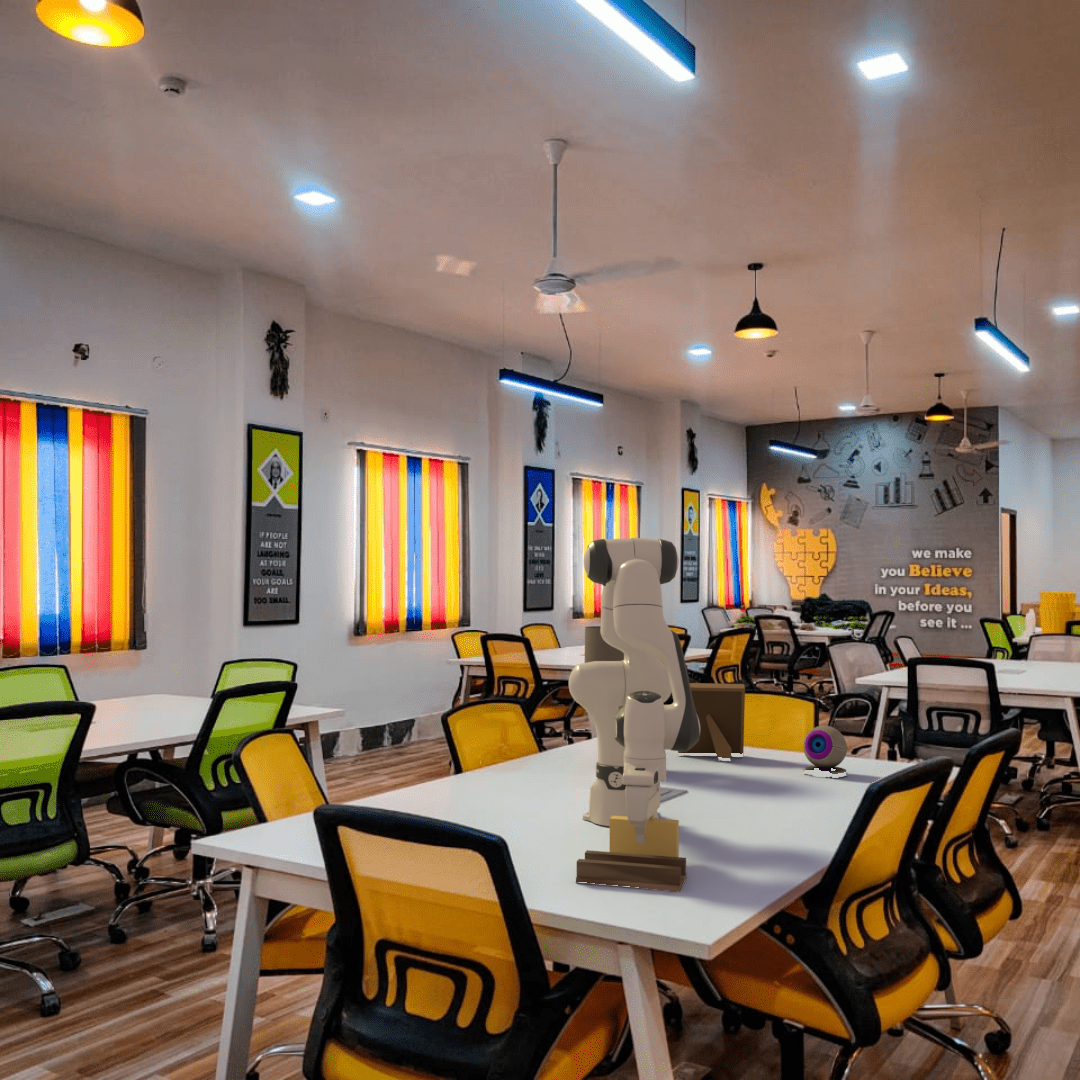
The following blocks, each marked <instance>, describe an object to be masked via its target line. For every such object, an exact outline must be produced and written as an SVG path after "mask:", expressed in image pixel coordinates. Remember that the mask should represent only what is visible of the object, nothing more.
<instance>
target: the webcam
mask: <svg viewBox="0 0 1080 1080" xmlns="http://www.w3.org/2000/svg"><path fill="white" fill-rule="evenodd" d="M803 739H804V740H803V753H804V756H805V757H806V759H807V760H808V762H810V763H811V764H812V765H809V766H808V765H807V766H805V767H803V770H814V768H819V770H821V771H829V772H830V773H832V774H838V773H844V772H846V771H847V769H845V768H843V767H839V766H838V765H840V764H841V763H842V762H843V761H844V760H845V757H846V755H847V753H848V744H847V740H846V738H845V736H844V735H843V734H842V733H841V731H840V730H839V729H836V728H835V727H833V726H830V725H818V726H816V727H813V728H812V729H811V730H810V731H808V733H807V734H806V735H805V737H804V738H803ZM831 768H833V769H836V770H835V771H831Z"/></svg>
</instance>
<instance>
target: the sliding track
mask: <svg viewBox="0 0 1080 1080" xmlns="http://www.w3.org/2000/svg"><path fill="white" fill-rule="evenodd" d="M685 879H687V857H683V856H681V857H669V856H656V855H643V854H629V853H616V852H610V851H599V850H588V849H587V850H586V851H585V852H584V859H583V858H578V859H577V860H576V876H575V883H576V882H587V883H595V884H606V885H618V886H630V887H639V888H638V889H640V888H648V889H647V890H652V889H657V890H656V891H664V890H669V891H668V892H676V891H680V892H681V890H682V888H683V886H684V884H685V882H686V880H685ZM684 881H685V882H684ZM683 883H684V884H683ZM682 885H683V886H682ZM681 887H682V888H681ZM680 889H681V890H680Z"/></svg>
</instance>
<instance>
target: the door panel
mask: <svg viewBox="0 0 1080 1080" xmlns="http://www.w3.org/2000/svg"><path fill="white" fill-rule="evenodd" d="M679 823H680V820H679V819H671V818H670V819H669V818H659V819H657V818H650V819H649V820H648V821H647V823H646V826H645V834H646V841H645V843H644V844H638V843H637V842H636V833H635V828H634V824H630V823H629V821H628V818H627V816H612V817H611V818H610V826H609V852H616V853H629V854H643V855H656V856H669V857H679V855H680V854H679V852H680V851H679V849H680V848H679V847H680V843H679V841H680V839H679V838H680V837H679V836H680V835H679V834H680V833H679V827H680V825H679Z"/></svg>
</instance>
